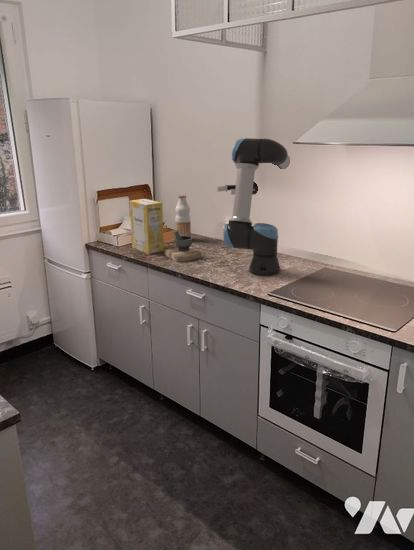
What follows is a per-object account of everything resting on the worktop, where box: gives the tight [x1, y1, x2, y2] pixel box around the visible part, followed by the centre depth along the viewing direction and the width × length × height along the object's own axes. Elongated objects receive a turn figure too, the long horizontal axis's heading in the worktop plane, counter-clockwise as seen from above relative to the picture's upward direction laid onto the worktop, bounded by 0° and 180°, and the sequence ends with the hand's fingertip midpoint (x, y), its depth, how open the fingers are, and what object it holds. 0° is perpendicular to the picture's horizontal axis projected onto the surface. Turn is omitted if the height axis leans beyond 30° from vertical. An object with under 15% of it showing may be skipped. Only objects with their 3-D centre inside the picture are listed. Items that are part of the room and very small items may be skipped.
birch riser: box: [164, 246, 202, 263], centre depth 252 cm, size 15×15×4 cm
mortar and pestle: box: [173, 229, 194, 252], centre depth 250 cm, size 11×9×12 cm
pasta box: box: [128, 198, 165, 255], centre depth 264 cm, size 18×10×28 cm, turn 39°
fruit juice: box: [174, 194, 192, 237], centre depth 284 cm, size 9×9×28 cm
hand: (223, 190), depth 249 cm, fingers open, 13 cm apart
